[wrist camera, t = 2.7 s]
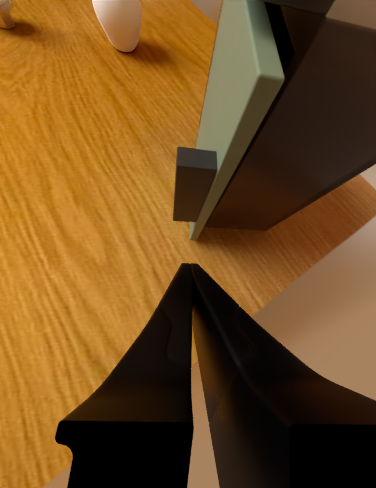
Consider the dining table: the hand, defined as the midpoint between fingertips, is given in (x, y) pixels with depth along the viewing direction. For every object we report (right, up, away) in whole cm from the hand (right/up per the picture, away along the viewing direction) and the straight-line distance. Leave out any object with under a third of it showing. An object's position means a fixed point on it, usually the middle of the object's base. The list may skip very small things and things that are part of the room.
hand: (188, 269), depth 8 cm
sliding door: (0, +6, +10) cm, 12 cm away
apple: (-11, +36, +19) cm, 42 cm away
